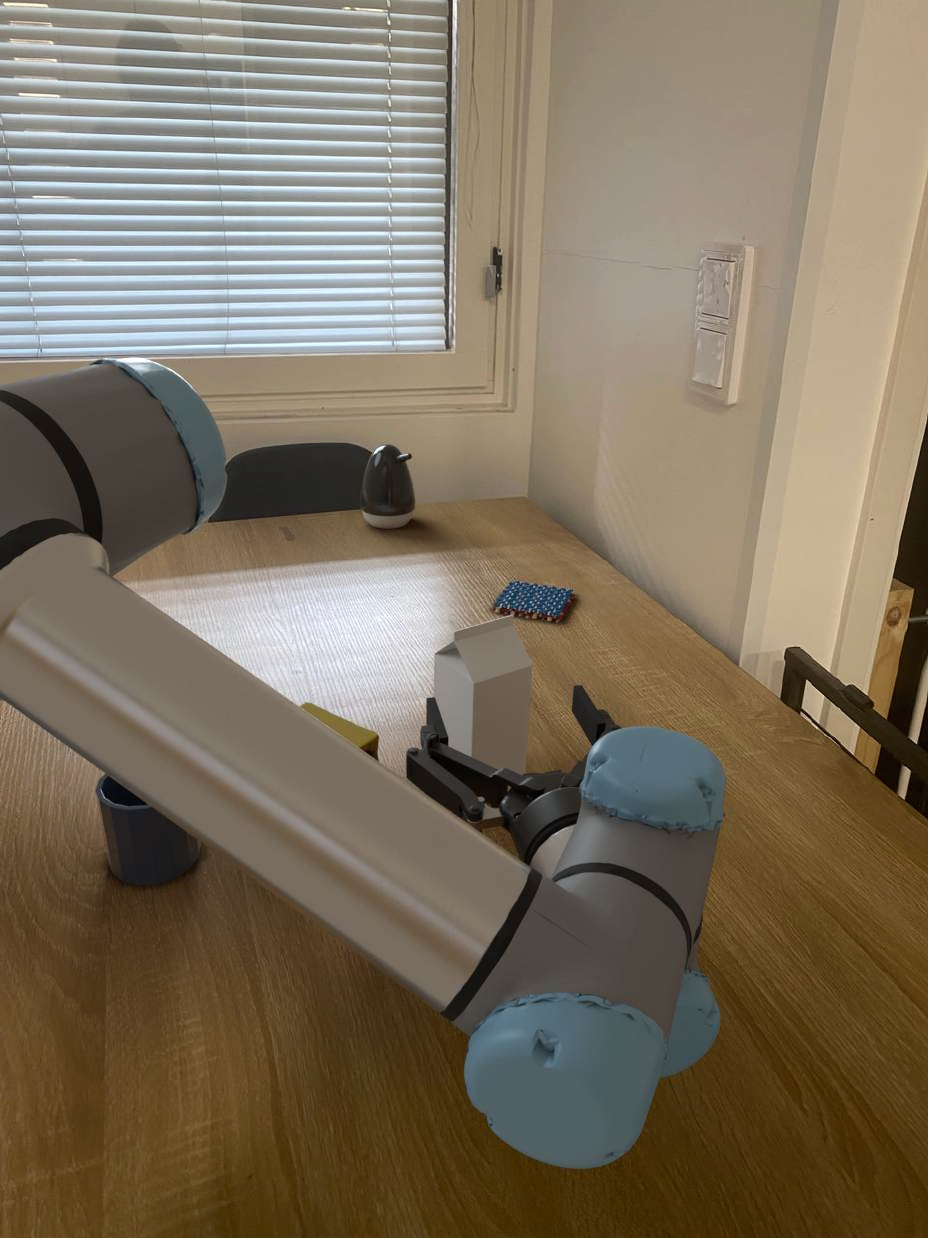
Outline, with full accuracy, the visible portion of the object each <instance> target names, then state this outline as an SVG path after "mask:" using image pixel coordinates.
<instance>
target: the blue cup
mask: <svg viewBox="0 0 928 1238" xmlns="http://www.w3.org/2000/svg"><path fill="white" fill-rule="evenodd" d="M95 787H96V788H95V790H94V792H95V796H96V801H97V807H98V813H99V819H100V822H101V823H100V824H101V829H102V833H103V834H102V835H103V840H104V844H105V851H106V855H107V861H108V865H109V868H110V871H111V873H112V875H113V876H114V877H115V878H117V880H120V881H121V882H123V883H125V884H129V885H135V886H138V887H139V886H153V885H159V884H162V883H166V882H169V881H171V880H174V879H176V878H179V877H180V876H181V875H183V874H184V873H186V872H187V871H189V870H190V869H192V867H193V866H194V864H195V863H196V862H197V860H198V859H199V858H200V853H201V842H200V841H199V840H197V839H196V838H195V837H193V836H192V835H190V834H189V833H188V832H186V831H185V830H183V829H182V828H181V827H179V826H178V825H176V824H175V823H174V822H172V821H171V820H169V819H168V818H167V817H165V816H164V815H163V814H161V813H160V812H158V811H157V810H156V809H154V808H153V807H151V806H150V805H149V804H147V803H146V802H144V801H143V800H142V799H140V798H139V797H137V796H136V795H135V794H133V793H132V792H131V791H129V790H128V789H126V788H125V787H124V786H122V785H121V784H119V783H118V782H117V781H115V780H114V779H112V778H111V777H110V776H108V775H107V774H106V773H104V774H103V775H102V776H101V777H100V778H99V779H98V781H97V784H96V786H95Z"/></svg>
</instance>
